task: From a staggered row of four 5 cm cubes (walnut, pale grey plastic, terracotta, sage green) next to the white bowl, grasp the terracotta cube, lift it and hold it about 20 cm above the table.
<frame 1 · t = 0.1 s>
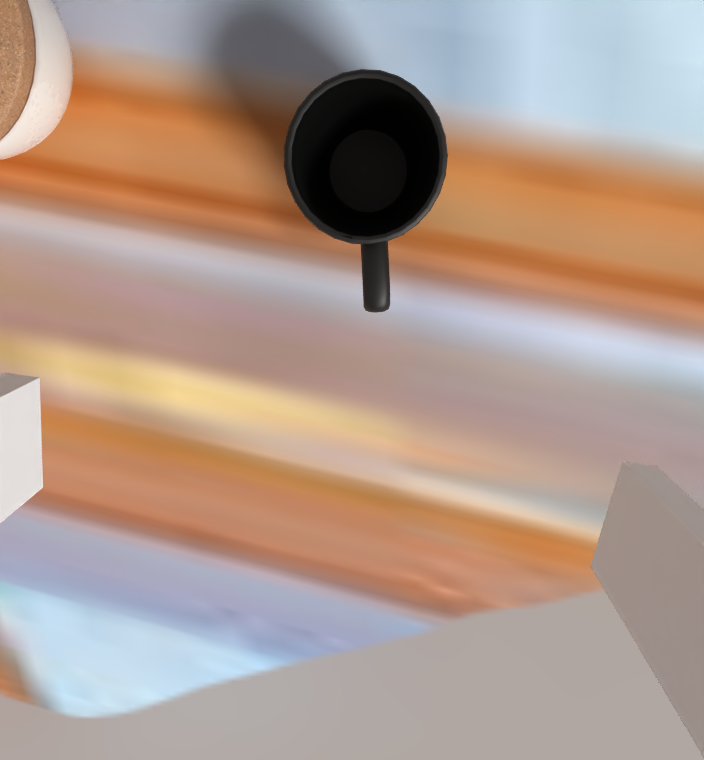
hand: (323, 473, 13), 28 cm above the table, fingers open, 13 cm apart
mug: (369, 202, 38), on the table
lidded bowl: (13, 68, 36), on the table
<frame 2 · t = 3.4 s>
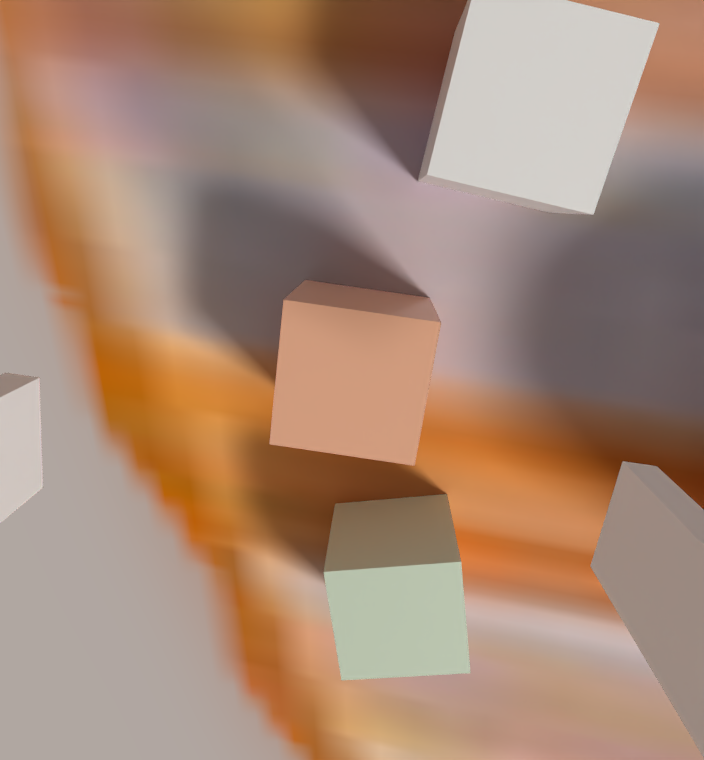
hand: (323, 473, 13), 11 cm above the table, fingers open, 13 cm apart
terracotta block: (358, 348, 23), on the table
grey block: (502, 126, 20), on the table
sage block: (396, 546, 26), on the table
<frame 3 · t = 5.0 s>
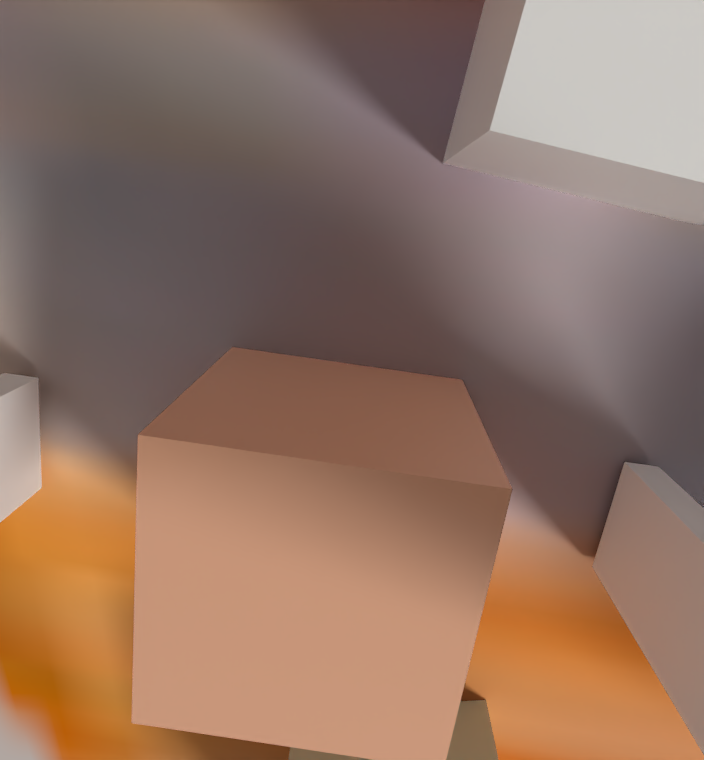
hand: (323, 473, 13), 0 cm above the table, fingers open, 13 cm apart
terracotta block: (333, 466, 13), on the table
grey block: (612, 52, 10), on the table
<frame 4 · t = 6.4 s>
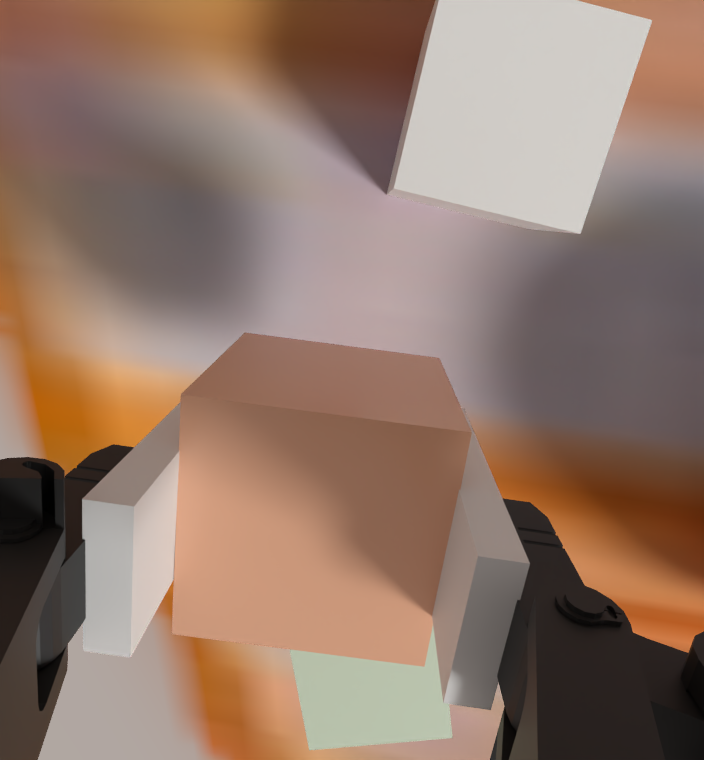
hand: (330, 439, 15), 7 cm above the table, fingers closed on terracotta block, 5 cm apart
terracotta block: (330, 435, 15), point 6 cm above the table, touching gripper
grey block: (478, 135, 19), on the table
sage block: (369, 591, 24), on the table
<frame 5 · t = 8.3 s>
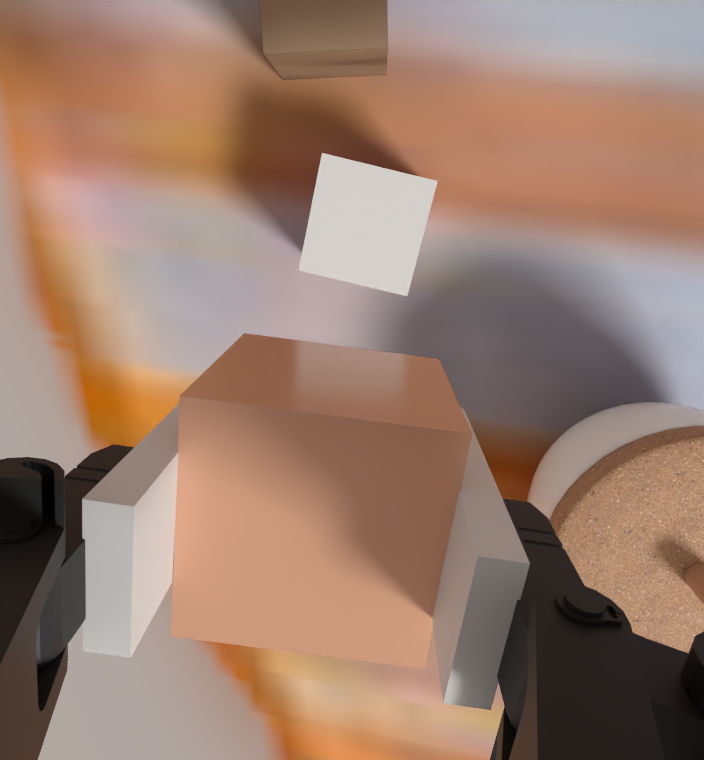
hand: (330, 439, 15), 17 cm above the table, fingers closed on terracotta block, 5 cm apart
terracotta block: (330, 436, 15), point 16 cm above the table, touching gripper
grey block: (368, 223, 29), on the table
lidded bowl: (610, 474, 33), on the table
walnut block: (332, 18, 27), on the table
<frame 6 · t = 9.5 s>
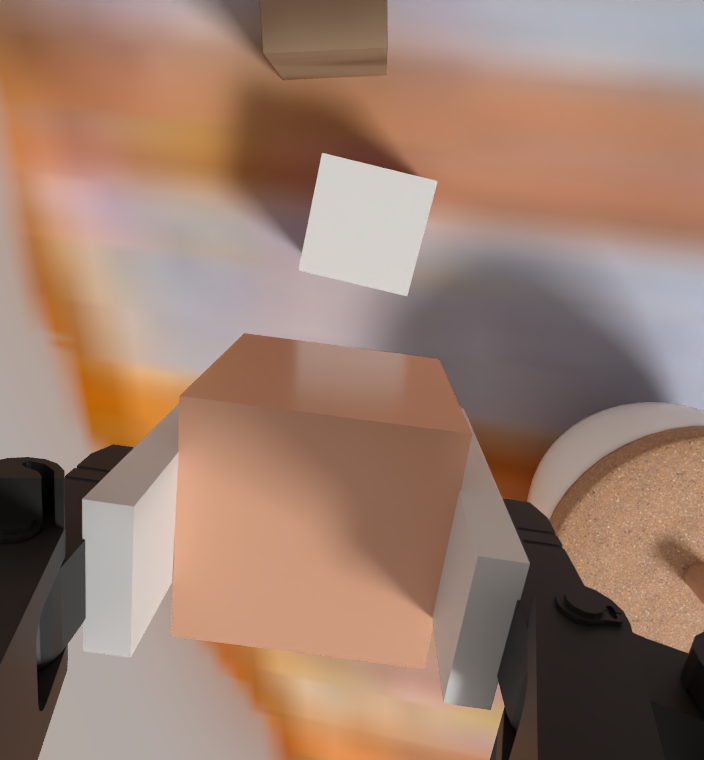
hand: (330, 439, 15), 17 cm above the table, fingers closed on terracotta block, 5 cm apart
terracotta block: (330, 436, 15), point 16 cm above the table, touching gripper
grey block: (368, 223, 29), on the table
lidded bowl: (610, 474, 33), on the table
walnut block: (332, 18, 27), on the table
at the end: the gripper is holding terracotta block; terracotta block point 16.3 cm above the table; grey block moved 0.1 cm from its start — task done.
